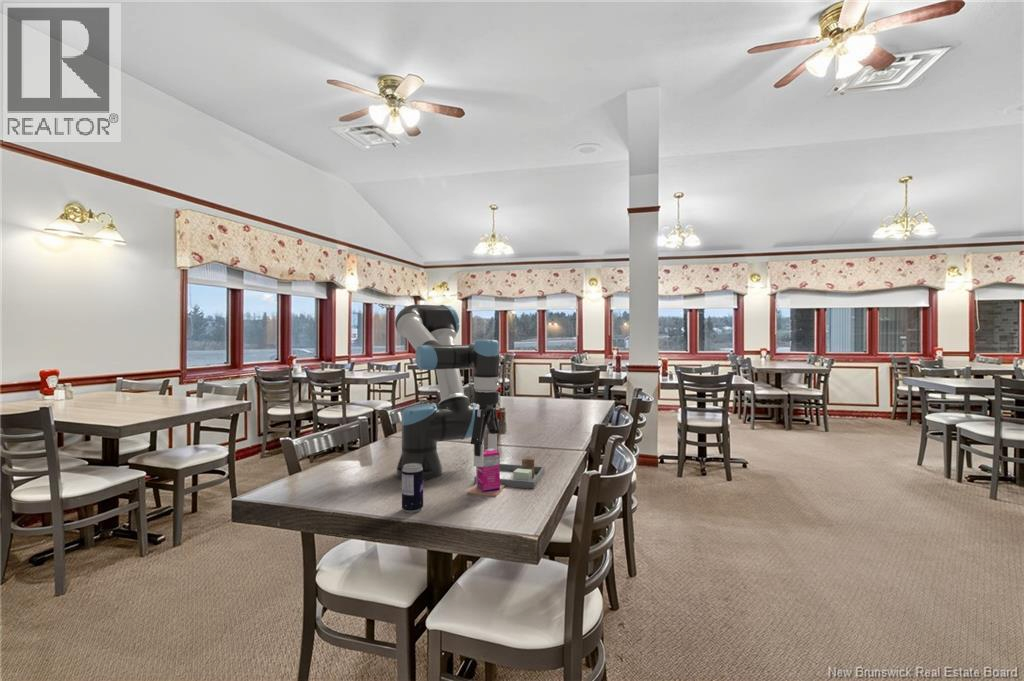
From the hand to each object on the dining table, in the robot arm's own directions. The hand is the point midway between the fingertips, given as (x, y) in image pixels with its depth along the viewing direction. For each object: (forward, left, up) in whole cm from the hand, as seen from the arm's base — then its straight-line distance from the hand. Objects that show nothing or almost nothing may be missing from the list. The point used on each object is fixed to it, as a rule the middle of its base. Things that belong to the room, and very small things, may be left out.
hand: (485, 460), depth 142 cm
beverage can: (-14, -21, -9) cm, 27 cm away
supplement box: (+1, 0, -9) cm, 9 cm away
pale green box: (+9, +10, -9) cm, 16 cm away
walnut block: (+9, +18, -9) cm, 22 cm away
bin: (+4, +14, -9) cm, 17 cm away
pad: (0, 0, -9) cm, 9 cm away
